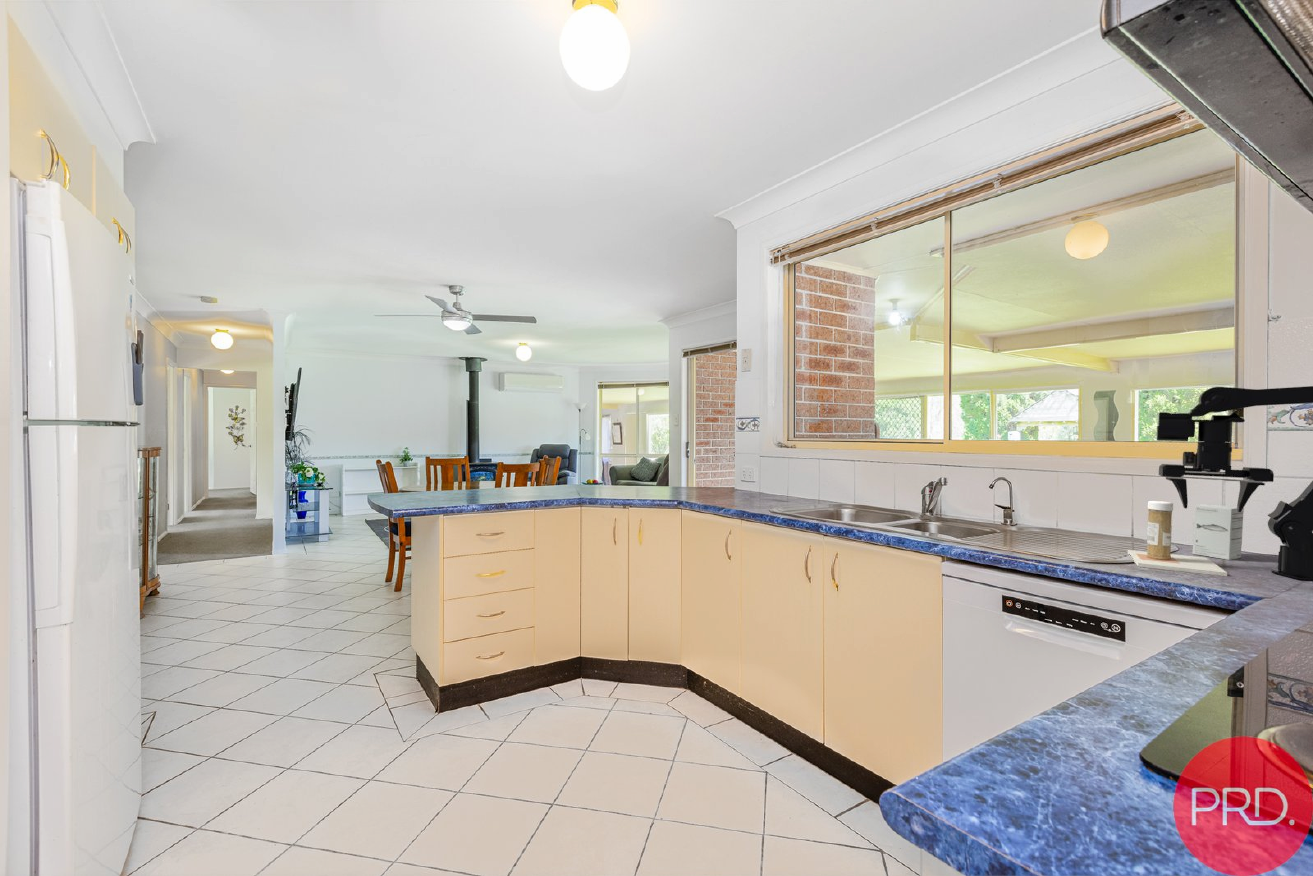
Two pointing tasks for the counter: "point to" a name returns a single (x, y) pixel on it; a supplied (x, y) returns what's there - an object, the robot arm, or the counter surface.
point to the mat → (1178, 563)
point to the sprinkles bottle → (1159, 530)
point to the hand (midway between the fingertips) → (1211, 510)
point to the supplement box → (1218, 531)
